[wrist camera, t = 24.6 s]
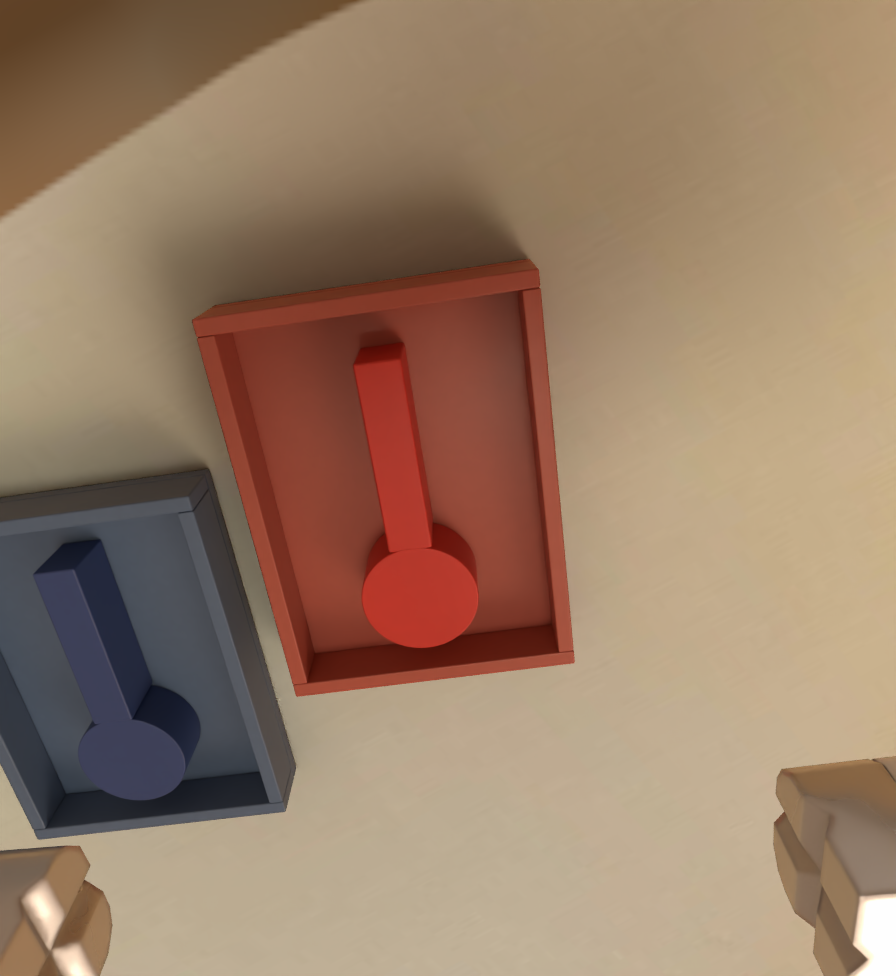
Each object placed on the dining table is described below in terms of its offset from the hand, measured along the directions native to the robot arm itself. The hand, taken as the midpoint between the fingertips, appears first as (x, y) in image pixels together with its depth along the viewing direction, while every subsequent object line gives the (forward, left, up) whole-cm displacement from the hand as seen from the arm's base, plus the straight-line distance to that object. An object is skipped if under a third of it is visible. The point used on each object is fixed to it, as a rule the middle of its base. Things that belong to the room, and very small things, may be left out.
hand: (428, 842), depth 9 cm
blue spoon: (+9, -15, -20) cm, 26 cm away
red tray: (+4, -2, -20) cm, 21 cm away
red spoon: (+3, -2, -20) cm, 20 cm away
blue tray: (+10, -15, -20) cm, 27 cm away
